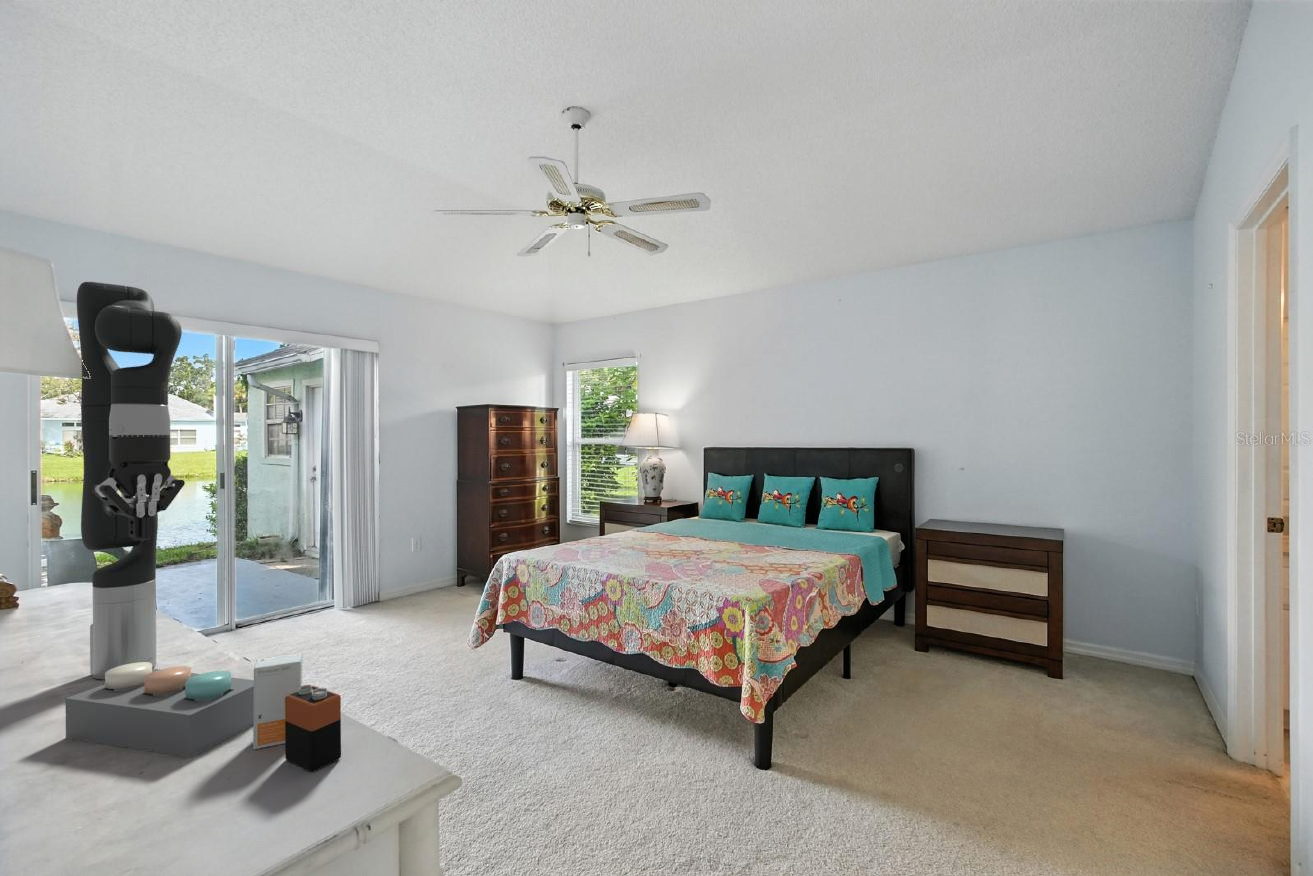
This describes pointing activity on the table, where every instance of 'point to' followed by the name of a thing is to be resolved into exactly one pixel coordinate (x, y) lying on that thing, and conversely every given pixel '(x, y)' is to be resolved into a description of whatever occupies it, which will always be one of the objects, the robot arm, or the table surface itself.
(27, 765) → the table surface
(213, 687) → the knob
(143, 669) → the knob
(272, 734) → the skincare box
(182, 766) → the table surface
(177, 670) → the knob mid
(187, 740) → the mount
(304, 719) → the battery
